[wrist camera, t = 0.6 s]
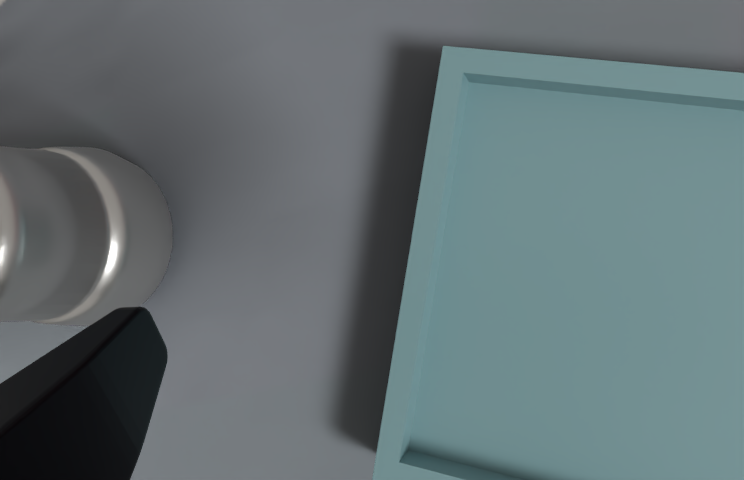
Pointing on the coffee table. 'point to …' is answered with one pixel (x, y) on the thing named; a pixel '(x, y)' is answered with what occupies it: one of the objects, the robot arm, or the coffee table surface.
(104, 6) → the coffee table surface
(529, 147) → the tray
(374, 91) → the coffee table surface
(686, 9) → the coffee table surface
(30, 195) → the plastic bottle
